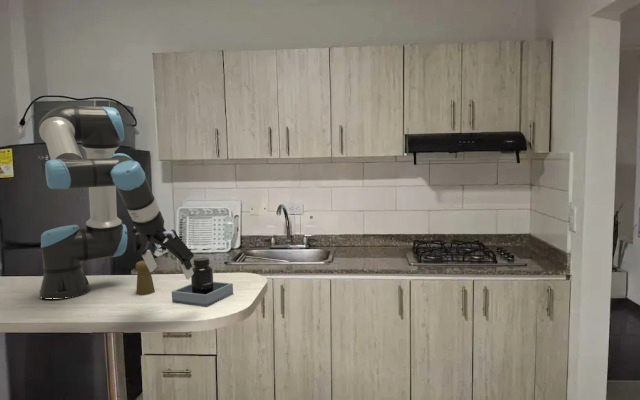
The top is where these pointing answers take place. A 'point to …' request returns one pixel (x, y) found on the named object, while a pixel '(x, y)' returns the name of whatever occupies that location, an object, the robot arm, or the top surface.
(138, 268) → the cork
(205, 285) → the supplement bottle
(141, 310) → the top surface
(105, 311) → the top surface
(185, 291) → the tray
